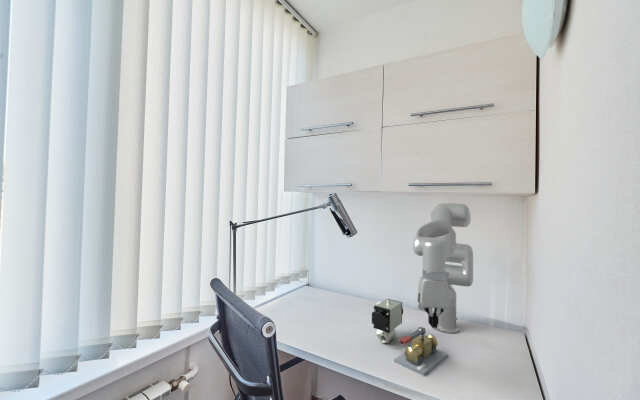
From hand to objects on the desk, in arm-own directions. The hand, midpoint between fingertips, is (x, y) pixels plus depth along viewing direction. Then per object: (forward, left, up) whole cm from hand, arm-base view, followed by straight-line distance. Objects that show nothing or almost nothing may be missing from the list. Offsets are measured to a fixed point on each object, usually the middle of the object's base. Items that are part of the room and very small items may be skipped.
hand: (433, 326), depth 99 cm
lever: (0, -7, -6) cm, 10 cm away
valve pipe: (-6, -7, -17) cm, 19 cm away
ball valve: (-9, -25, -17) cm, 32 cm away
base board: (-6, -7, -17) cm, 19 cm away
